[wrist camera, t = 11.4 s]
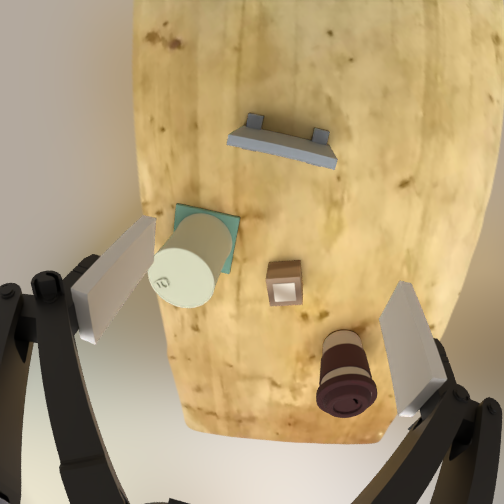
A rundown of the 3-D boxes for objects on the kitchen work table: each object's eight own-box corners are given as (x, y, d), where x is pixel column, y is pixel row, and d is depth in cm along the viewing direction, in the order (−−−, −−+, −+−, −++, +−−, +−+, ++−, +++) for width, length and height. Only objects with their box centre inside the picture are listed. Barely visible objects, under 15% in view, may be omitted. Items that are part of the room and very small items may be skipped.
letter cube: (268, 262, 52) (265, 279, 47) (300, 259, 51) (300, 277, 46) (272, 288, 54) (270, 306, 49) (302, 286, 53) (302, 305, 48)
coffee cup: (312, 359, 60) (311, 422, 47) (320, 321, 56) (322, 387, 43) (360, 361, 59) (368, 423, 46) (373, 324, 55) (386, 388, 42)
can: (167, 222, 50) (133, 259, 39) (219, 205, 47) (195, 241, 37) (190, 271, 54) (165, 315, 43) (240, 258, 51) (225, 304, 41)
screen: (246, 112, 41) (231, 117, 32) (332, 132, 41) (341, 143, 32) (239, 146, 43) (223, 161, 35) (323, 166, 43) (330, 185, 34)
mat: (177, 203, 49) (176, 204, 48) (240, 217, 48) (239, 218, 48) (172, 258, 54) (171, 259, 53) (229, 272, 53) (229, 274, 53)
